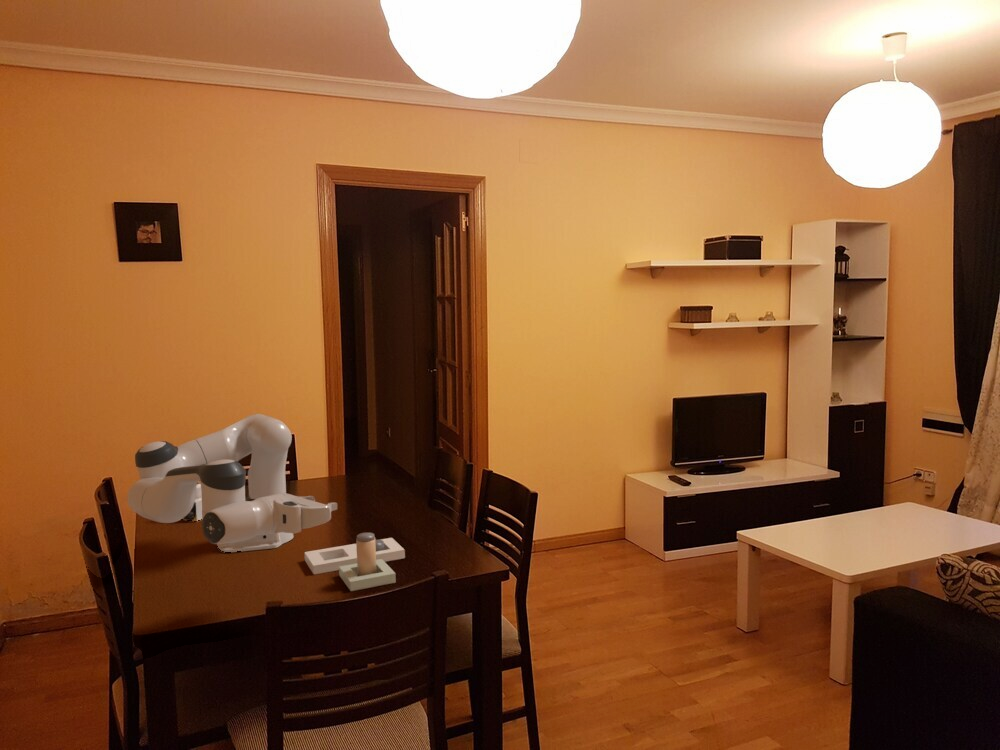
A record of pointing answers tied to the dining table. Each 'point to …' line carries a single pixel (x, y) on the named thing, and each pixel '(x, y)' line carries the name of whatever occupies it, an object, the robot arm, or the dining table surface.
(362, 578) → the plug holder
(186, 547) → the dining table surface
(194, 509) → the medicine bottle
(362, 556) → the tan plug
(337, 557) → the white rectangular tray
